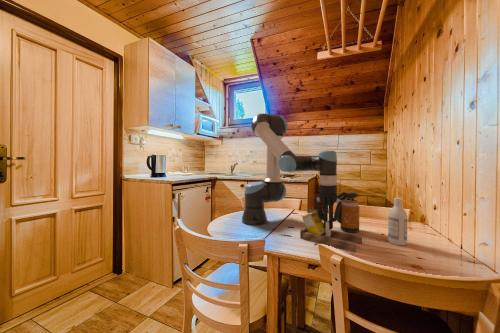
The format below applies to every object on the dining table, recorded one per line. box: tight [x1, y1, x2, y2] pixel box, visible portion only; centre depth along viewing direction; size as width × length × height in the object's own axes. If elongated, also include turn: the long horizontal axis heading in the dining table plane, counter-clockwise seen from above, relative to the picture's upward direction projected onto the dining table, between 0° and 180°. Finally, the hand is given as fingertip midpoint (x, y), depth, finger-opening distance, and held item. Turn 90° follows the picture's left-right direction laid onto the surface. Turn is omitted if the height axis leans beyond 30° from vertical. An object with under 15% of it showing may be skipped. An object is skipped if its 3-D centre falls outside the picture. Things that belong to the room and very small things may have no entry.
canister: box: [336, 191, 361, 233], centre depth 112 cm, size 9×11×20 cm
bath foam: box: [387, 197, 409, 246], centre depth 95 cm, size 7×7×20 cm
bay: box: [299, 208, 363, 253], centre depth 100 cm, size 26×15×11 cm, turn 50°
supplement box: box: [301, 211, 326, 236], centre depth 102 cm, size 6×6×11 cm
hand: (328, 235), depth 99 cm, fingers closed
